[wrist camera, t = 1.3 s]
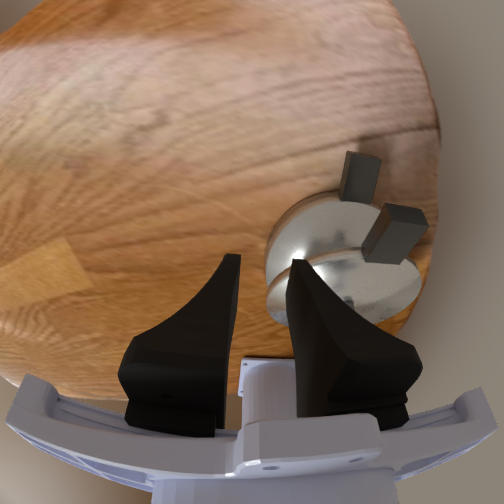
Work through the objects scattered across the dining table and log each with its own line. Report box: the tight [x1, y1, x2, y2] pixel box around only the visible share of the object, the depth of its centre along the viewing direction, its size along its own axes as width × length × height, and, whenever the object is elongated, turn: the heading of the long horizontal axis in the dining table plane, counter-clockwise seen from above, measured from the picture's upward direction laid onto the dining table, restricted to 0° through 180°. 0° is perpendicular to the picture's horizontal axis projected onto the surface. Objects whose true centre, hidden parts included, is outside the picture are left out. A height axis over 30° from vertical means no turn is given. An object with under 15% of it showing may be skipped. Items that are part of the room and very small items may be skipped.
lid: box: [266, 203, 429, 327], centre depth 18 cm, size 16×12×2 cm
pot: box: [265, 151, 381, 287], centre depth 22 cm, size 17×12×3 cm
